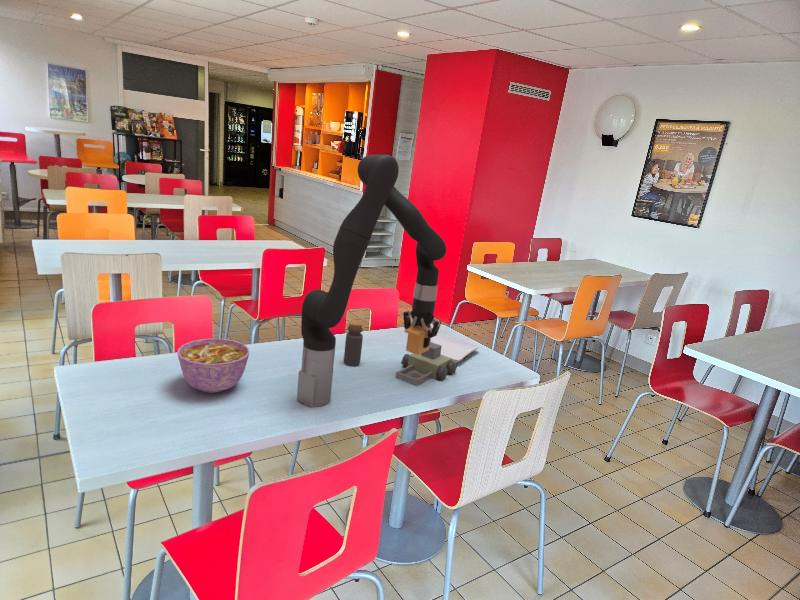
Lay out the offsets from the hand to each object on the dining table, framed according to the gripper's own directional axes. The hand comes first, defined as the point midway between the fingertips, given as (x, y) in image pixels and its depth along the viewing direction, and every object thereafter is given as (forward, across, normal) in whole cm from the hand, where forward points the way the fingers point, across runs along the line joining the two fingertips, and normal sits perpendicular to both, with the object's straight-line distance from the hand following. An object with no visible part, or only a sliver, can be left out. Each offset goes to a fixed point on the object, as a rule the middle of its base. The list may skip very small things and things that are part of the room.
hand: (418, 344), depth 179 cm
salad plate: (+13, -5, +30) cm, 33 cm away
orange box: (+2, 0, -1) cm, 2 cm away
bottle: (+12, -22, -7) cm, 26 cm away
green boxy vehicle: (+12, 0, +5) cm, 13 cm away
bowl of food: (+12, -38, -53) cm, 66 cm away
